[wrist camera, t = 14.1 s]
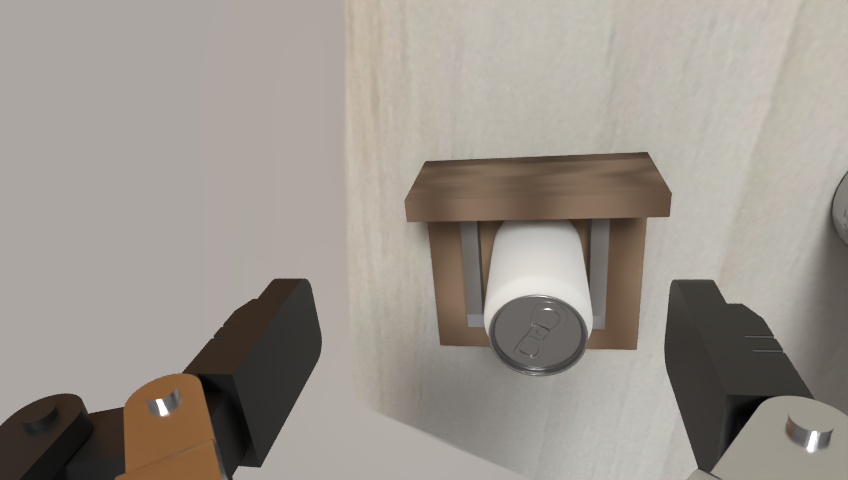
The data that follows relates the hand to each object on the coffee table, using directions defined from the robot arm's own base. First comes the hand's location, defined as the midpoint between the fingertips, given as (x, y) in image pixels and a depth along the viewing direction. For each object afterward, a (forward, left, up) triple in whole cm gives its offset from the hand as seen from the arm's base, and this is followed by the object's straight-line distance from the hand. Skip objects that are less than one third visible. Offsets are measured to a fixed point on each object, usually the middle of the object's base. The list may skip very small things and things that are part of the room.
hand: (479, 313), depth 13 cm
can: (-1, +13, -29) cm, 31 cm away
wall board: (-1, +14, -30) cm, 33 cm away
